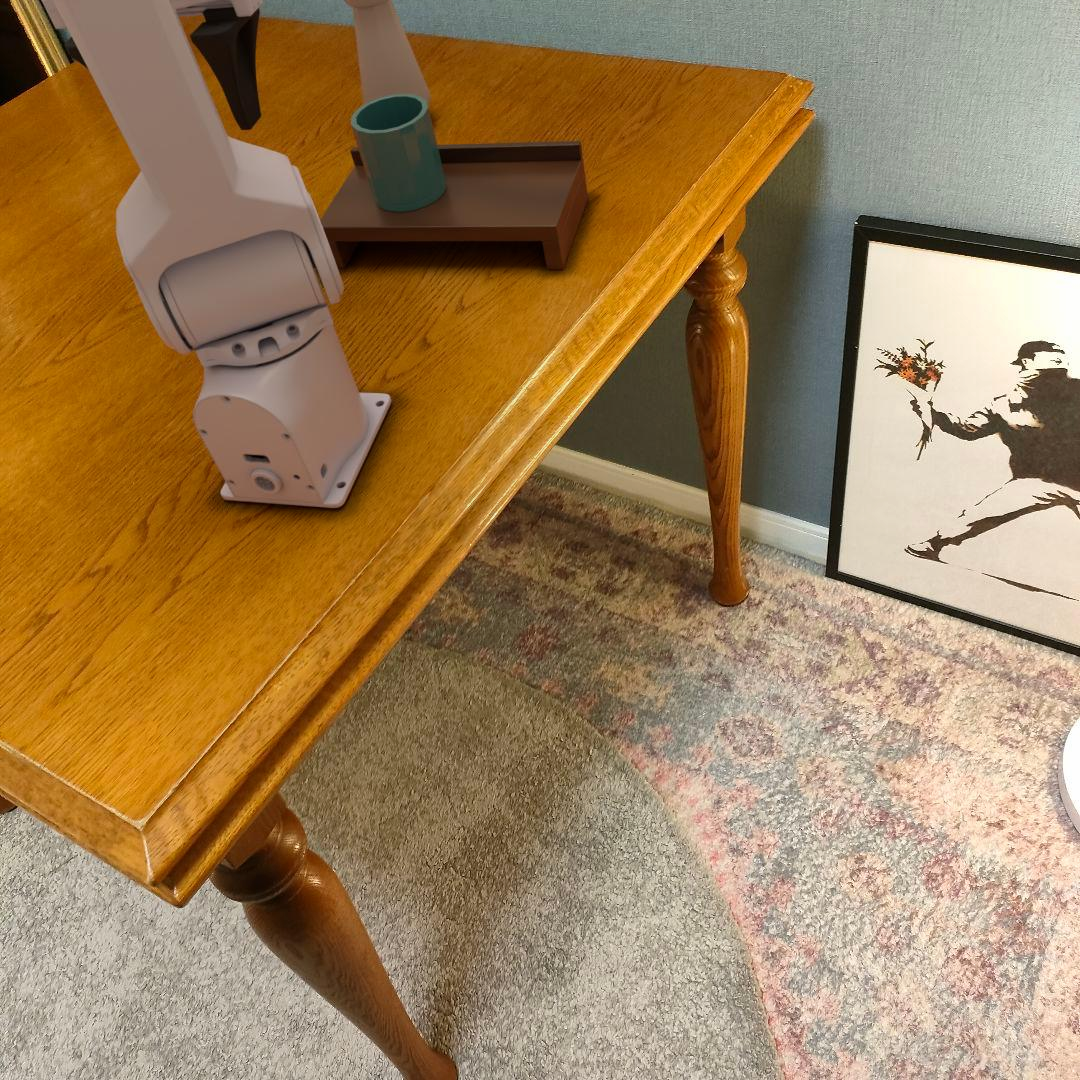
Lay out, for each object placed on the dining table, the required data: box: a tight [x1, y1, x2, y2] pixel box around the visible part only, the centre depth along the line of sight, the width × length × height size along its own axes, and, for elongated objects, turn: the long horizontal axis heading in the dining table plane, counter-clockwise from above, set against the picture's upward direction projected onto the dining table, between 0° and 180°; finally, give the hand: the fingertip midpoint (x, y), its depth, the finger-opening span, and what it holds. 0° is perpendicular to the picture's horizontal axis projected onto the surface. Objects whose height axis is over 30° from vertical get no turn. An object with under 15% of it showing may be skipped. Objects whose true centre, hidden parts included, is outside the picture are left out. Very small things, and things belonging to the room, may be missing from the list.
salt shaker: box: [343, 0, 432, 109], centre depth 83 cm, size 6×6×13 cm
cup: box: [350, 94, 447, 212], centre depth 71 cm, size 5×5×6 cm
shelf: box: [319, 140, 589, 271], centre depth 73 cm, size 9×18×5 cm, turn 77°
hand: (203, 124), depth 70 cm, fingers open, 7 cm apart
